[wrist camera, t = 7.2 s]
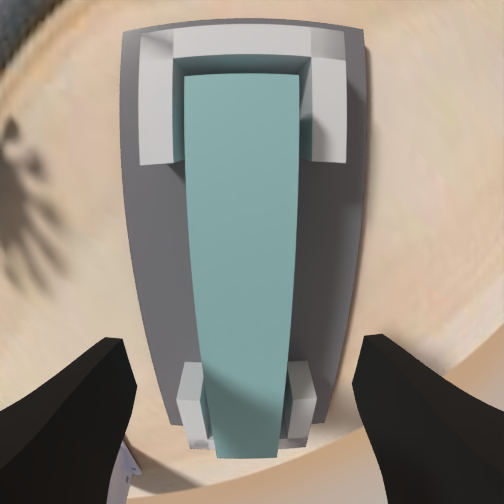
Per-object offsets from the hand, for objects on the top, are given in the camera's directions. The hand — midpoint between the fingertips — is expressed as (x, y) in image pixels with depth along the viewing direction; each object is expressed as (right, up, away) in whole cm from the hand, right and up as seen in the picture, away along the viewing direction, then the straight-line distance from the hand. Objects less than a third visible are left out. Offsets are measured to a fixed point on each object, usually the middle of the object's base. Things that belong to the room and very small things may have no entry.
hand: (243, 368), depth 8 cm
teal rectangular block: (0, +2, +6) cm, 6 cm away
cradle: (0, +3, +7) cm, 7 cm away
